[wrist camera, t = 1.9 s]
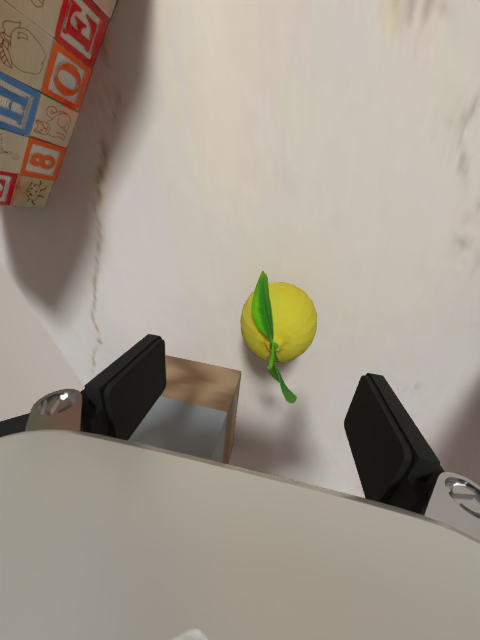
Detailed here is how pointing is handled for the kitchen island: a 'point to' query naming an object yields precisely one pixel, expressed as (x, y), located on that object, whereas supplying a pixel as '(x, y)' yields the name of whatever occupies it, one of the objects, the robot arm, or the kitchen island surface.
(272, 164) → the kitchen island surface
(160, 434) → the tower top block
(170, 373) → the tower base block
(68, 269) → the kitchen island surface
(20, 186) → the stack of blocks
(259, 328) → the lemon
